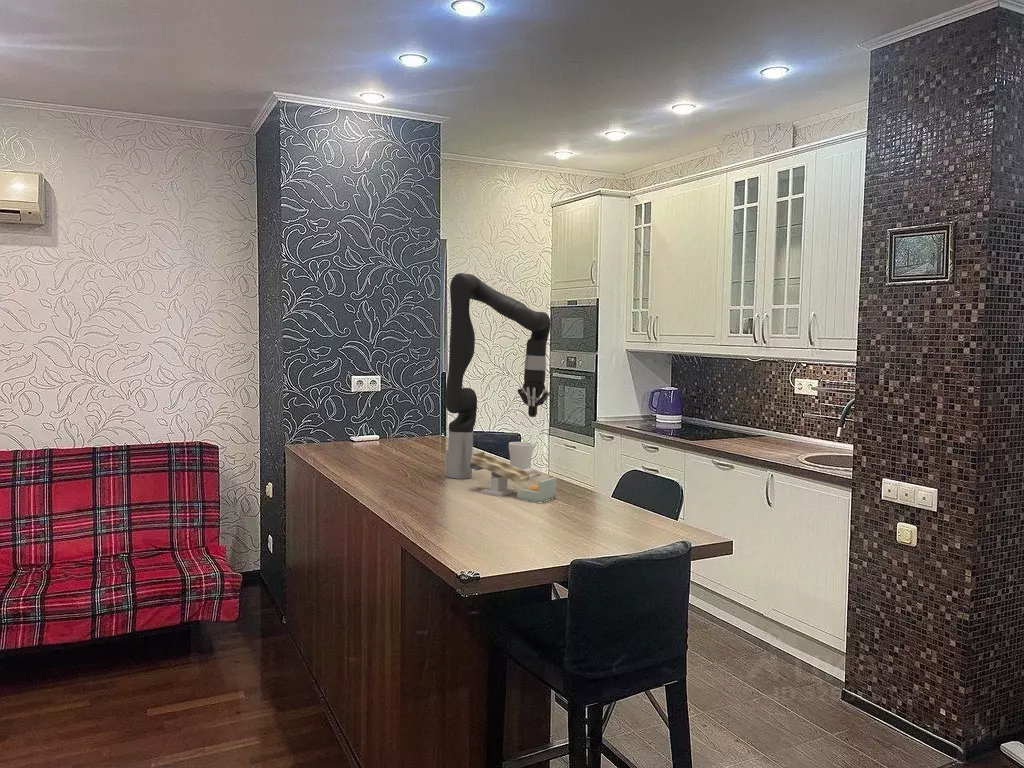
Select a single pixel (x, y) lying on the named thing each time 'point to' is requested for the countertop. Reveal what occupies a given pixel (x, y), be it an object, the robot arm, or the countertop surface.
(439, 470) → the countertop surface
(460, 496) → the countertop surface
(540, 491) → the bin
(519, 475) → the board
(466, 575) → the countertop surface
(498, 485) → the lever stand
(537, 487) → the ball
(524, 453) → the foam cup
